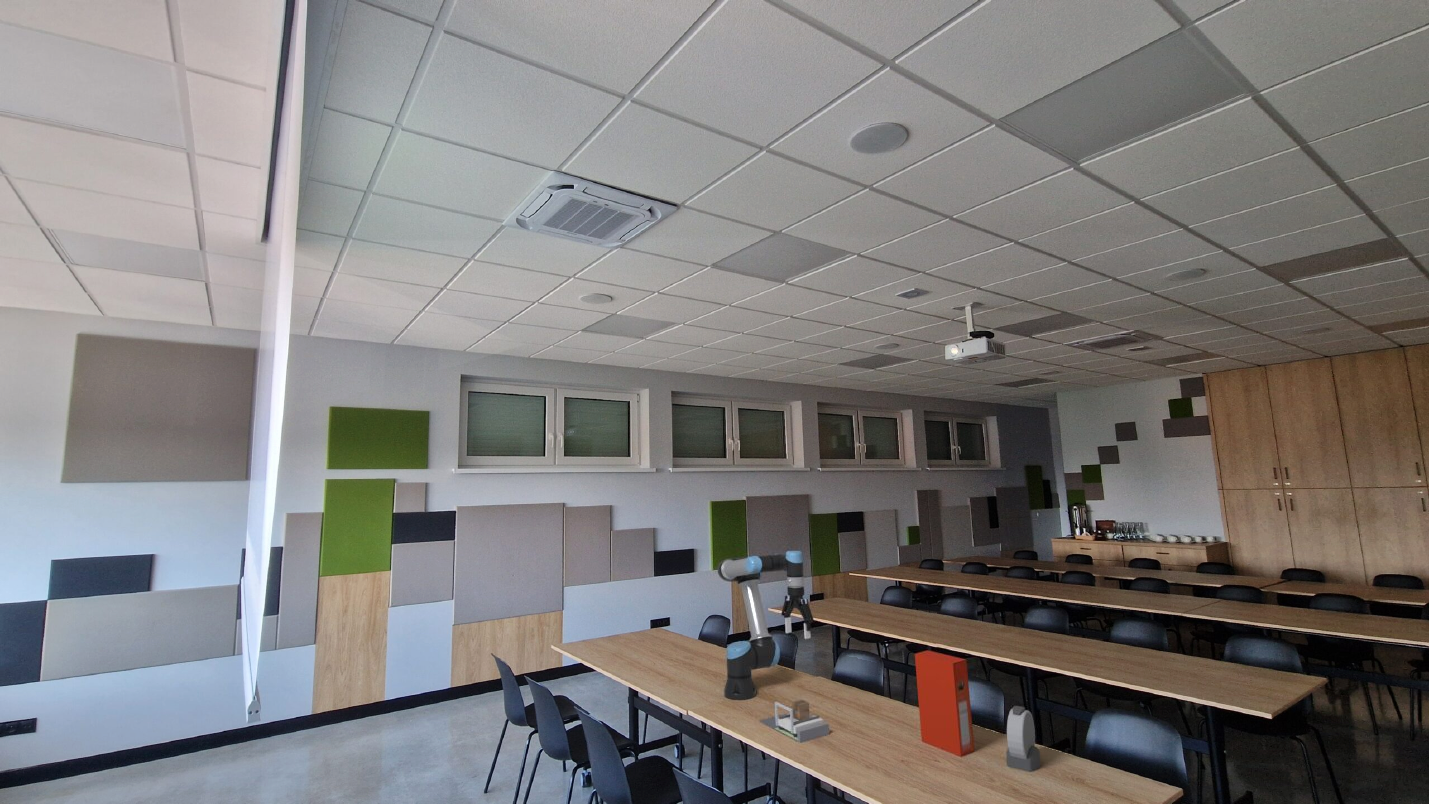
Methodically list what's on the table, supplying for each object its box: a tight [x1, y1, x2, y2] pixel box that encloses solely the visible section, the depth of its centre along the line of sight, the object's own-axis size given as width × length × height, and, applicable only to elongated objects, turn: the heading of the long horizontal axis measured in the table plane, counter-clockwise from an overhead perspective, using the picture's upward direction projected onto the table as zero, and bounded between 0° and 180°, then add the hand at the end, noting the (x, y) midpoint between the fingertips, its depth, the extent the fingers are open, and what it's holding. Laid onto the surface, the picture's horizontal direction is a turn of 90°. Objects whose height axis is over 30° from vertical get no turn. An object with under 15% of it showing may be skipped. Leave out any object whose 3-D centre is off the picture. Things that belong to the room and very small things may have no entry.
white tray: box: [774, 701, 824, 737], centre depth 251 cm, size 13×15×10 cm
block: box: [790, 698, 810, 721], centre depth 252 cm, size 5×5×6 cm
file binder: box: [914, 649, 975, 758], centre depth 234 cm, size 8×17×32 cm, turn 32°
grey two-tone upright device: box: [1005, 705, 1042, 773], centre depth 217 cm, size 16×10×18 cm, turn 141°
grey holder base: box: [758, 713, 830, 744], centre depth 254 cm, size 28×14×4 cm, turn 31°
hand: (797, 635), depth 278 cm, fingers open, 13 cm apart
